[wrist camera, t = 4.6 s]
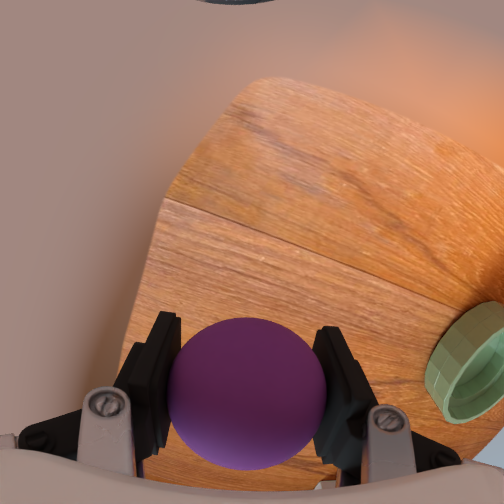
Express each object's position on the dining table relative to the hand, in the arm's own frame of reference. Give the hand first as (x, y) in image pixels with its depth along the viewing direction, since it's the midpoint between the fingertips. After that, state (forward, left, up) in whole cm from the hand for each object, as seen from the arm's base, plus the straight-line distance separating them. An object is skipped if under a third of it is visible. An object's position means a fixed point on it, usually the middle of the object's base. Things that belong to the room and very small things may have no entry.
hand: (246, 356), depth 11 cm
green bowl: (+30, +14, -16) cm, 37 cm away
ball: (0, 0, -1) cm, 1 cm away
